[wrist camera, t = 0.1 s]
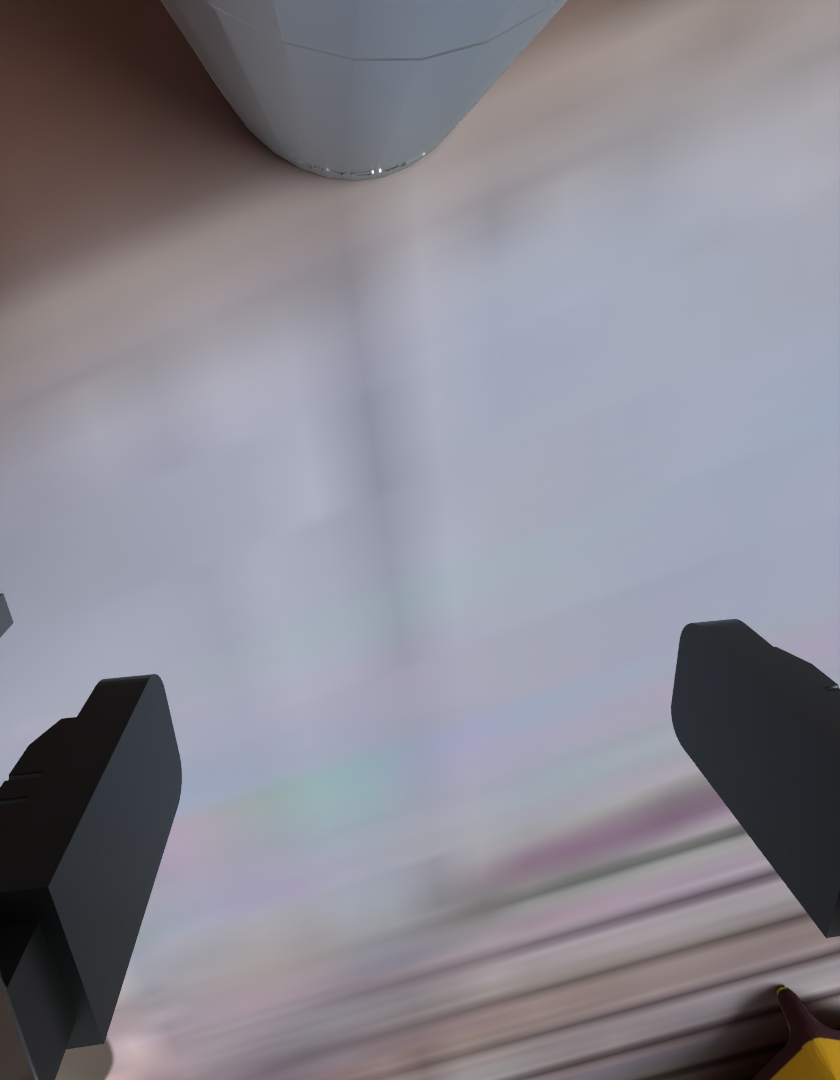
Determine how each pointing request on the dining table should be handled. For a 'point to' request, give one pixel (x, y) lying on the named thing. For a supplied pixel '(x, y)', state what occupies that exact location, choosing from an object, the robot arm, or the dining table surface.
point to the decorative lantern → (804, 1046)
